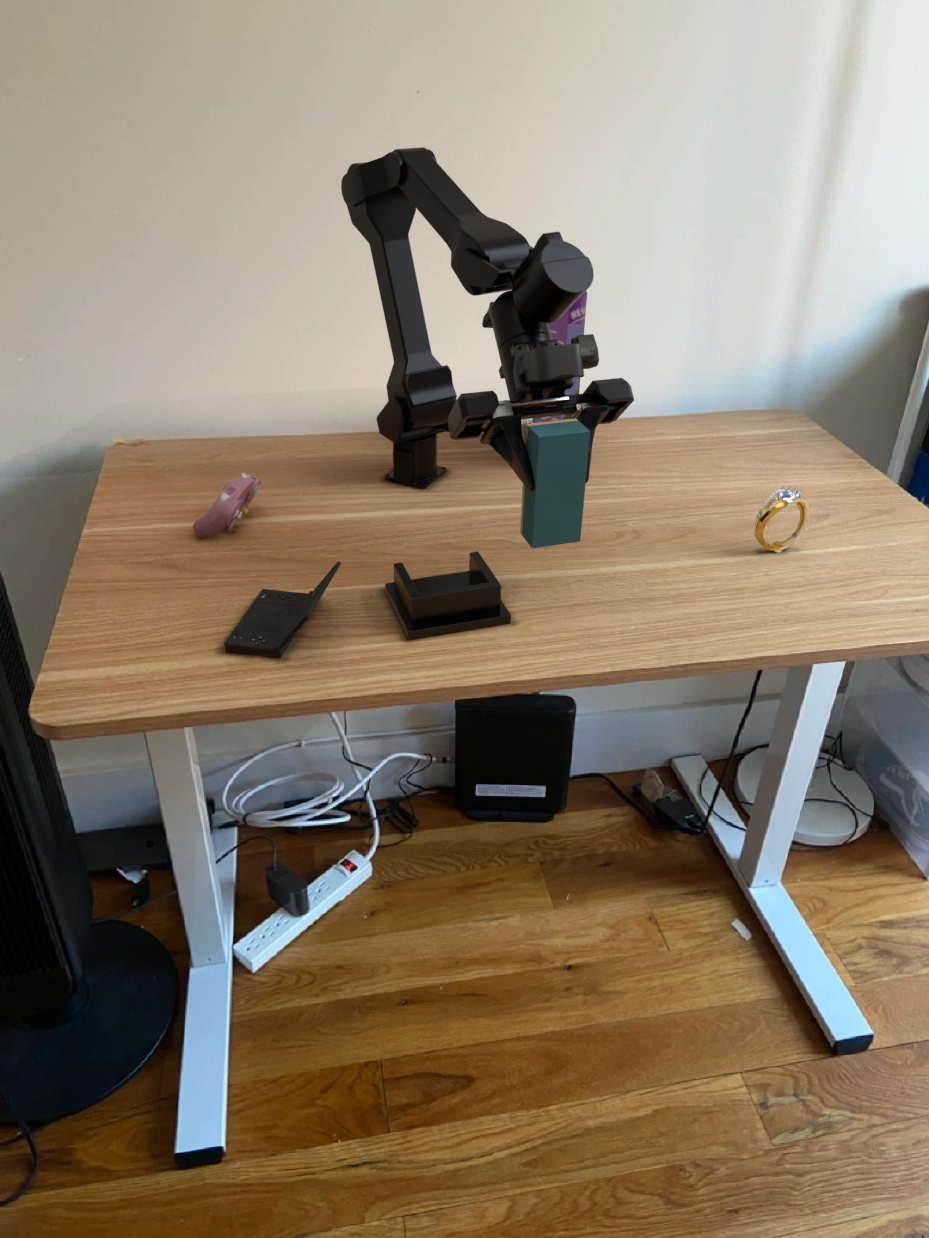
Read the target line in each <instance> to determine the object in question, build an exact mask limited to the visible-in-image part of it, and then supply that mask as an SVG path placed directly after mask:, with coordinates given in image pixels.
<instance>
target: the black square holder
mask: <svg viewBox="0 0 929 1238" xmlns="http://www.w3.org/2000/svg"><path fill="white" fill-rule="evenodd" d="M468 556H469V558H468V559H469V563H468V565H469V566H468V570H465V571H459V572H458V571H457V572H453V573H452V572H451V573H445V574H439V575H438V574H437V575H433V576H431V575H430V576H426V577H417V578H411V576H410V574H409V572H408V571H407V568H406V567H405V565H404V563H403V562H395V563H393V566H392V567H393V568H392V569H393V582H386V583H385V582H384V592H385V594H386V596H387V598H388V600H389V602H390V604H391V606H392V609H393V610H394V613H395V615H396V617H397V619H398V621H399V624H400V625H401V628H402V630H403V632H404V634H405V637H406V638H407V640H408V641H410V640H417V639H423V638H429V637H434V636H441V635H446V634H452V633H460V632H464V631H470V630H476V629H477V630H478V629H483V628H488V627H489V628H490V627H494V626H501V625H508V624H511V621H512V615H511V612H510V611H509V610H508V608H507V607H506V606H505V603H504V602H503V601H502V585H501V583H500V581H499V580H498V578H497V577H496V576H495V574H494V573H493V571H492V570H491V568H490V566H489V565H488V563H487V562H486V561H485V560H484V558H483V556H482V555H481V553H480V552H479V551H471V552H469V555H468Z"/></svg>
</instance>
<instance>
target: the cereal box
mask: <svg viewBox="0 0 929 1238" xmlns="http://www.w3.org/2000/svg"><path fill="white" fill-rule="evenodd" d="M587 303H588V291H587V290H586V291H585V292H584V293H583V294H582V295H581V296H580V297H579V299H578V300H577V301H576V302H575V303H574V304H573V305H572V306H571V307H570V308H569V309H568V310H567V311H566V312H565V313H564V314H563V315H562V316H561V317H560V318H559V319H558V320H557V321H555V322H552V323H548V325H549V329H550V333H551V337H552V340H558V343H559V344H560V345H564V344H571V339H572V338H573V337H577V336H578V335H585V326H586V314H587ZM573 381H574V385H573V386H572V387H571V389H566V390H565V394H566V395H575V394H580V387H581V377H574V378H573ZM566 419H570V418H569V415H568V414H567V415H557V416H548V417H539V418H532V423H539V422H548V421H557V420H566Z"/></svg>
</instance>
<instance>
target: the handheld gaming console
mask: <svg viewBox="0 0 929 1238" xmlns="http://www.w3.org/2000/svg"><path fill="white" fill-rule="evenodd" d="M341 565H342V562H341V561H339V560H338V561H337V562H335V564H334V565H333V566H332V567H331V569H330V570H329V571H328V573H327V574H326V575H325V576H324V577H323V579H321V581H320V582H319V583H318V584H317V585H316V587H315V588H314V589H313V590H309V592H308V593H307V592H296V591H288V590H279V589H268V588H263V589H261V590H260V591H259V593H258V595H257V596H256V597H255V598H254V600H253V601H252V603H251V604H250V605H249V606H248V609H246V611H245V612H244V614H243V616H242V617H241V619H239V621H238V622H237V624H236V625H235V626H234V628H233V629H232V631H231V632H230V634H229V635H228V636H227V638H226V639H225V641H224V642H223V647H224V650H225V652H229V653H238V654H247V655H254V656H261V657H270V658H280V659H281V658H282V657H283V655H284V654H285V652H286V651H287V649H288V647H289V646H290V645H291V644H290V643H291V642H292V641H293V639H294V638H295V636H296V633H297V632H298V631H299V630H300V629H301V627H302V626H304V624H305V623H306V622H307V620H308V619H309V618H310V617H311V616H312V613H313V611H314V610H315V608H316V606H317V605H318V603H319V602H320V600H321V599H322V597H323V595H324V593H325V592H326V590H327V588H328V587H329V586H330V583H331V581H332V580H333V578H334V577H335V575H336V573H338V572H337V571H338V570H339V568H340V566H341Z"/></svg>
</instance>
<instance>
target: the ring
mask: <svg viewBox="0 0 929 1238" xmlns="http://www.w3.org/2000/svg"><path fill="white" fill-rule="evenodd" d="M803 492H804V490H803V489H800V488H799V490H798V488H797V487H794V488H792V486H791V485H789V486H788V488H787V489H786V486H785V485H781V488H778V489H776V490H775V491H774V492H772V493H771V494H770V495H768V497H767V498H766V500H765V501H764V502H763V503H762V505H761V507H760V508H759V510H758V512H757V515H756V517H755V519H754V523H753V535H754V538H755V540H756V542H757V543H758V544H759V545H760V546H761V547H762V548H763V549H765V550H767V551H772V552H775V553H781V552H782V551H783V550H787V549H789V548H790V547H792V546H794V545H795V544H796V543H797V542H798V541H799V540H800V539H801V538H803V536H804V534H805V533H806V531H807V530H808V528H809V526H810V523H811V520H812V506H811V502H810V500H808V499H807V498H805V497H804V496H801V495H802V494H803ZM776 500H777V501H781V502H779V503H777V504H774V505H773V506H772V504H773V503H774V502H775V501H776ZM792 504H795V505H797V507H798V510H799V522H798V524H797V526H796V529H795V530H794V531H793V533H792V534H791V535H790V536H789V537H787V538H786V539H784V540H782V541H779V540H775V541H773V542H771V543H770V542H767V541H766V540H765V538H764V531H765V528H766V526H767V524H768V523H769V522H770V520H771V519H772V518H773V517H774V516H775V515H777V513H778V512H780V511H782V510H783V509H785V508H787V506H788V505H792ZM771 506H772V507H771ZM770 507H771V508H770Z"/></svg>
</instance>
